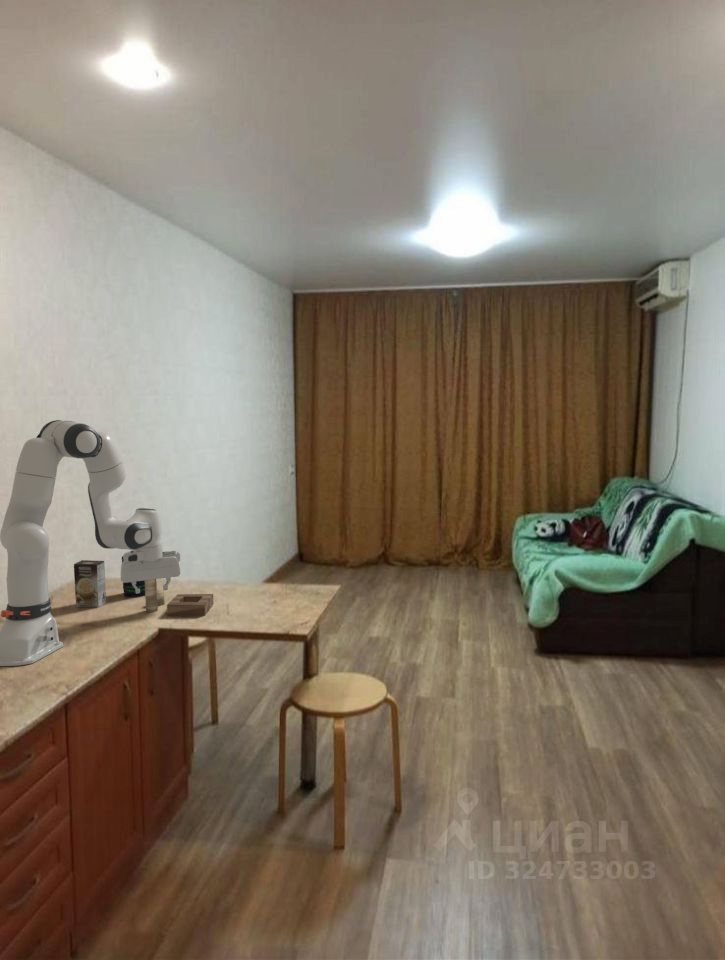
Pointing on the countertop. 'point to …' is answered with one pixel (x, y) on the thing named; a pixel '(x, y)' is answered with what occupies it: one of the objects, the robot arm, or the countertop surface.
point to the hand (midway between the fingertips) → (151, 591)
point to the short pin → (160, 597)
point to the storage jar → (130, 590)
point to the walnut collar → (190, 605)
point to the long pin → (151, 595)
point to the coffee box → (90, 583)
